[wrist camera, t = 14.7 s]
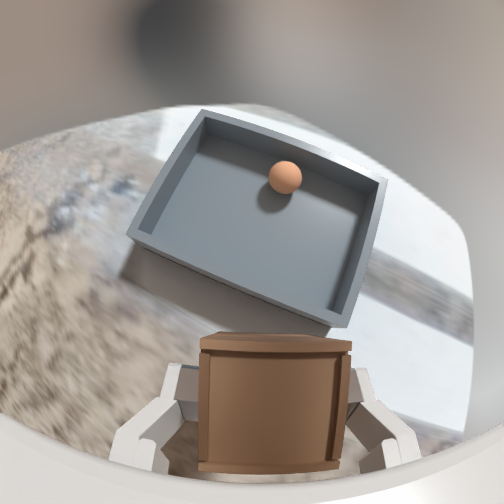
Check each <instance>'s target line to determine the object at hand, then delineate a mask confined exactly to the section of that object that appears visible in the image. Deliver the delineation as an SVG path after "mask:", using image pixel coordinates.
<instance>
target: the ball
mask: <svg viewBox="0 0 504 504" xmlns="http://www.w3.org/2000/svg"><path fill="white" fill-rule="evenodd" d="M301 181H302V174H301V171H300V169H299V168H298V167H297V166H296V165H295V164H294V163H292V162H289V161H281V162H278V163H276V164H275V165H274V166H273V167H272V168H271V170H270V172H269V183H270V185H271V187H272V188H273V189H274V190H275V191H277V192H278V193H281V194H290V193H292V192H294V191H296V190H297V189H298V188H299V186H300V184H301Z"/></svg>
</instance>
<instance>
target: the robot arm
mask: <svg viewBox="0 0 504 504" xmlns="http://www.w3.org/2000/svg"><path fill="white" fill-rule="evenodd" d="M198 385H199V366H191V365H183V364H176V363H169V365H168V367H167V370H166V374H165V378H164V382H163V386H162V390H161V394H160V397H155V398H154V399H153V400H152V401H151V402H150V403H149V404H147V405H146V406H145V407H144V408H143V409H142V410H140V411H139V412H138V413H137V414H136V415H135V416H133V417H132V418H131V419H130V420H129V421H128V422H126V423H125V424H124V425H123V426H122V427H120V428H119V429H118V430H117V431H116V434H115V438H114V441H113V445H112V449H111V452H110V456H109V460H108V459H104V458H101V457H98V456H96V455H93V454H90V453H87V452H84V451H82V450H79V449H77V448H74V447H72V446H69V445H67V444H64V443H62V442H60V441H57V440H55V439H53V438H51V437H49V436H47V435H44V434H42V433H40V432H38V431H36V430H34V429H32V428H31V427H29V426H27V425H25V424H23V423H21V422H19V421H18V420H16V419H14V418H13V417H11V416H9V415H7V414H5V413H0V504H504V422H503V423H501V424H499V425H497V426H495V427H494V428H492V429H490V430H488V431H486V432H484V433H482V434H480V435H478V436H476V437H474V438H472V439H469V440H467V441H465V442H463V443H460V444H458V445H456V446H453V447H451V448H448V449H446V450H443V451H441V452H438V453H435V454H433V455H430V456H427V457H424V458H422V457H421V453H420V449H419V446H418V442H417V438H416V435H415V432H414V431H413V430H412V429H411V428H410V427H408V426H407V425H406V424H405V423H404V422H403V421H402V420H401V419H400V418H398V417H397V416H396V415H395V414H394V413H393V412H392V411H391V410H390V409H388V408H387V407H386V406H385V405H384V404H383V403H382V402H381V401H380V400H376V399H375V395H374V392H373V388H372V385H371V382H370V378H369V375H368V372H367V369H366V368H364V367H362V368H351V369H350V383H349V395H348V405H347V415H346V423H345V424H346V425H347V427H348V428H349V429H350V430H351V431H352V433H353V434H354V435H355V436H356V437H357V439H358V440H359V441H360V442H361V443H362V445H363V446H364V447H365V448H366V449H367V451H368V452H369V453H368V454H367V455H366V456H364V457H363V458H362V459H361V460H360V461H359V466H360V473H361V474H359V475H353V476H347V477H341V478H334V479H326V480H318V481H307V482H293V483H234V482H219V481H209V480H200V479H192V478H185V477H179V476H173V475H168V468H169V460H168V459H167V458H166V456H165V455H164V454H163V452H162V451H161V450H160V449H161V448H162V447H163V446H164V445H165V444H166V442H167V441H168V440H169V439H170V438H171V437H172V436H173V435H174V434H175V433H176V431H177V430H178V429H179V428H180V427H181V426H182V425H183V424H184V422H185V421H192V422H198Z"/></svg>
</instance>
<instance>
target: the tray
mask: <svg viewBox="0 0 504 504" xmlns="http://www.w3.org/2000/svg"><path fill="white" fill-rule="evenodd" d="M281 161H289V162H292V163H294V164H295V165H296V166H297V167H298V168H299V169H300V171H301V174H302V181H301V184H300V186H299V188H298V189H297V190H296V191H294V192H292V193H290V194H281V193H278V192H277V191H275V190H274V189H273V188H272V187H271V185H270V183H269V172H270V170H271V168H272V167H273V166H274V165H275V164H276V163H278V162H281ZM387 183H388V179H386V178H384V177H382V176H380V175H378V174H376V173H374V172H372V171H369V170H367V169H365V168H363V167H361V166H359V165H357V164H355V163H352V162H350V161H348V160H346V159H344V158H341V157H339V156H337V155H335V154H332V153H330V152H327V151H325V150H323V149H320V148H318V147H315V146H313V145H310V144H308V143H305V142H303V141H300V140H298V139H295V138H292V137H290V136H287V135H284V134H281V133H279V132H276V131H273V130H270V129H267V128H264V127H261V126H258V125H255V124H252V123H249V122H246V121H242V120H239V119H236V118H232V117H229V116H226V115H222V114H219V113H215V112H211V111H208V110H204V109H201V111H200V112H199V113H198V115H197V116H196V118H195V119H194V121H193V122H192V123H191V125H190V126H189V128H188V129H187V131H186V132H185V134H184V135H183V137H182V138H181V140H180V141H179V143H178V144H177V146H176V147H175V149H174V150H173V152H172V154H171V155H170V157H169V158H168V160H167V161H166V163H165V165H164V166H163V168H162V170H161V171H160V173H159V175H158V176H157V178H156V180H155V181H154V183H153V185H152V186H151V188H150V190H149V192H148V193H147V195H146V197H145V199H144V201H143V202H142V204H141V206H140V208H139V210H138V212H137V213H136V215H135V217H134V219H133V221H132V223H131V225H130V227H129V229H128V231H127V233H126V235H127V236H128V237H130V238H131V239H132V240H134V241H135V242H136V243H137V244H139V245H140V246H141V247H143V248H145V249H147V250H149V251H151V252H154V253H156V254H158V255H160V256H162V257H164V258H167V259H169V260H171V261H173V262H175V263H178V264H180V265H182V266H184V267H186V268H189V269H191V270H193V271H195V272H198V273H200V274H202V275H204V276H207V277H209V278H211V279H213V280H216V281H218V282H220V283H223V284H225V285H227V286H230V287H232V288H234V289H237V290H239V291H241V292H244V293H246V294H249V295H251V296H253V297H256V298H258V299H261V300H263V301H265V302H268V303H270V304H273V305H275V306H278V307H280V308H283V309H285V310H288V311H290V312H293V313H295V314H298V315H300V316H303V317H305V318H308V319H310V320H313V321H316V322H318V323H321V324H323V325H326V326H329V327H331V328H347V326H348V323H349V321H350V318H351V315H352V312H353V309H354V306H355V303H356V300H357V297H358V294H359V291H360V288H361V285H362V282H363V278H364V275H365V272H366V268H367V265H368V261H369V258H370V254H371V251H372V247H373V243H374V240H375V236H376V232H377V228H378V224H379V219H380V215H381V211H382V206H383V202H384V197H385V192H386V188H387Z"/></svg>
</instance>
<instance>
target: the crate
mask: <svg viewBox="0 0 504 504" xmlns="http://www.w3.org/2000/svg"><path fill="white" fill-rule="evenodd" d="M200 348H201V353H200V354H199V385H198V460H199V463H198V471H204V472H214V473H227V474H256V475H265V474H294V473H307V472H317V471H326V470H334V469H339V464H340V461H339V460H338V459H340V458H341V452H342V446H343V439H344V431H345V423H346V415H347V405H348V395H349V383H350V369H351V355H348V351H351V350H352V341H345V340H338V339H331V338H324V337H317V336H311V335H305V334H264V333H240V332H222V331H220V332H217V333H214V334H211V335H209V336H206V337H203V338H200Z"/></svg>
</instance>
